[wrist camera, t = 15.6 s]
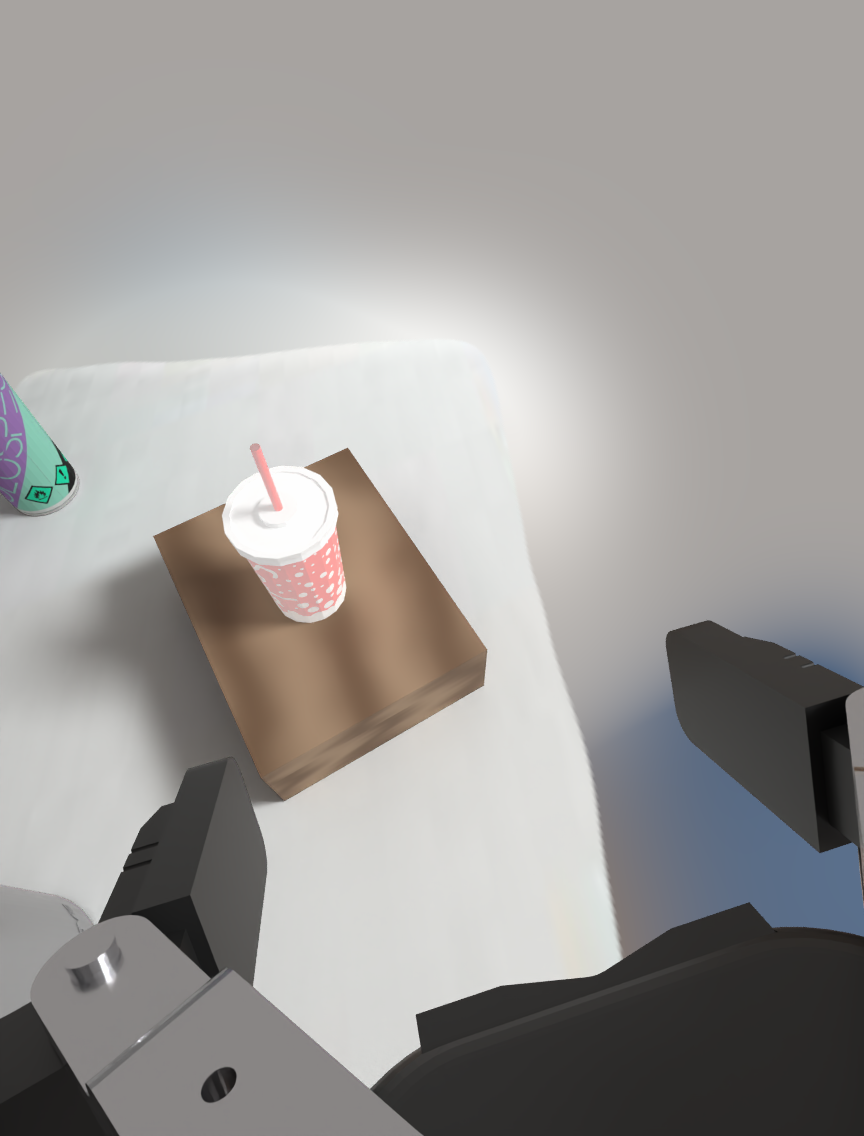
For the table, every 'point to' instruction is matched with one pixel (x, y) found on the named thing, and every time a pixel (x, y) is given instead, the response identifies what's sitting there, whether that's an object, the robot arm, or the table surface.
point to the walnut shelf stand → (326, 639)
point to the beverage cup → (289, 537)
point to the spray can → (31, 461)
